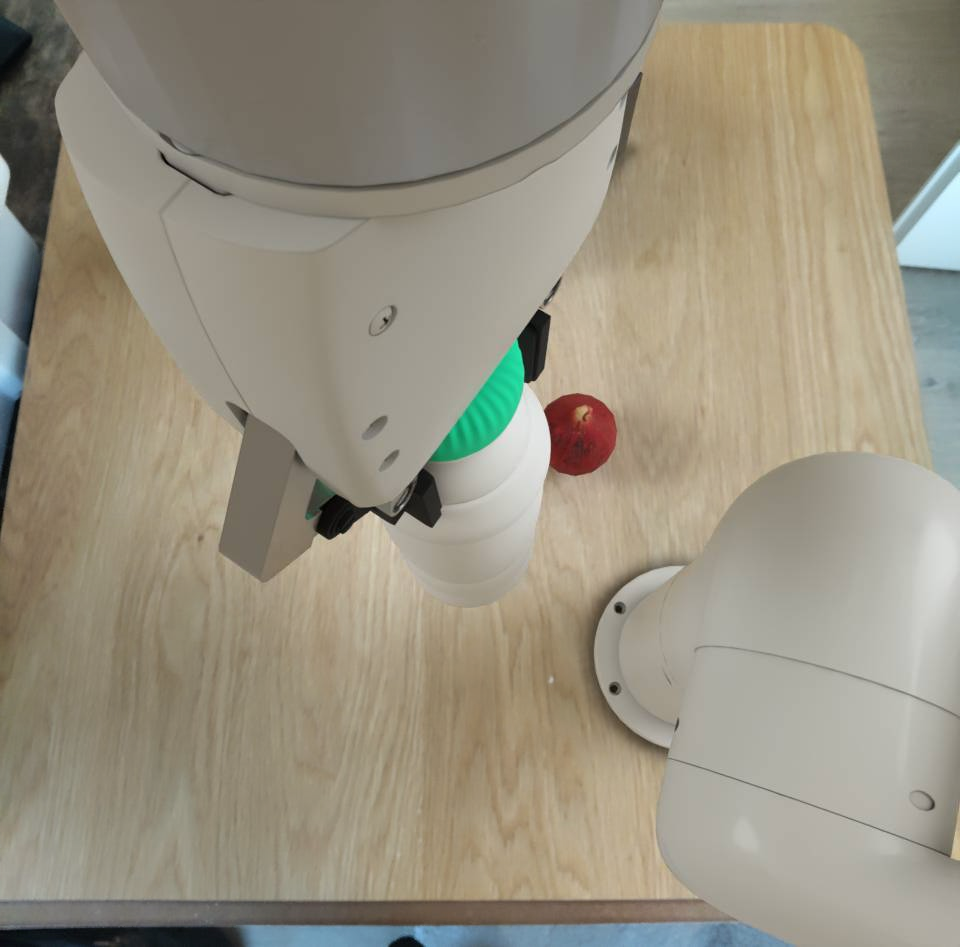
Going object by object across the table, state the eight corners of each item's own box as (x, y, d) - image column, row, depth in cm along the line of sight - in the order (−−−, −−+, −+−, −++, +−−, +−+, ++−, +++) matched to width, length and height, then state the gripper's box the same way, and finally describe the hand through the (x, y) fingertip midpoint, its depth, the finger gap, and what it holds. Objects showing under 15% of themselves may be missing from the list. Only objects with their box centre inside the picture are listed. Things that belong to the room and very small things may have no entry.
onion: (602, 494, 60) (618, 461, 52) (527, 479, 60) (532, 444, 53) (614, 422, 62) (631, 380, 54) (540, 409, 62) (547, 365, 54)
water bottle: (381, 555, 45) (249, 371, 21) (462, 463, 47) (423, 196, 23) (476, 636, 44) (449, 537, 20) (557, 539, 45) (621, 338, 21)
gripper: (496, -593, 12) (497, 187, 29) (-465, 254, 8) (198, 575, 25) (974, -431, 10) (677, 287, 28) (105, 696, 6) (391, 714, 24)
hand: (449, 422), depth 26 cm, fingers closed on water bottle, 5 cm apart
